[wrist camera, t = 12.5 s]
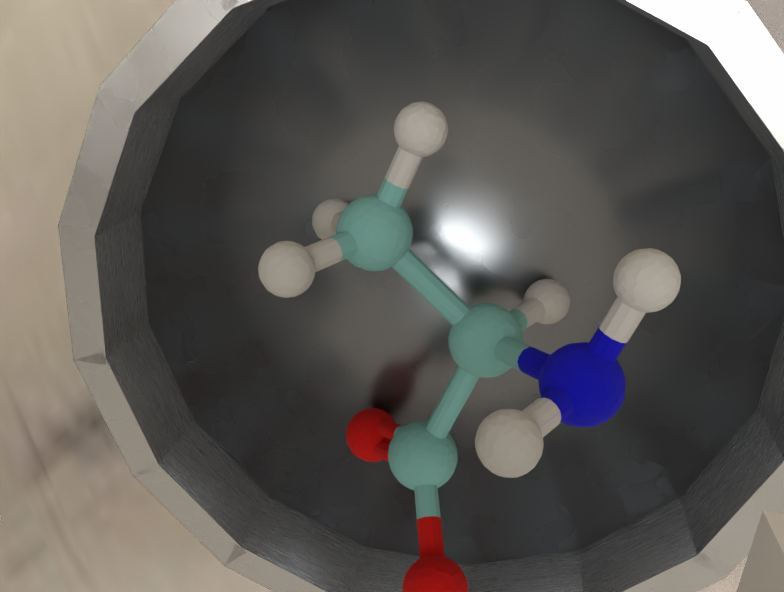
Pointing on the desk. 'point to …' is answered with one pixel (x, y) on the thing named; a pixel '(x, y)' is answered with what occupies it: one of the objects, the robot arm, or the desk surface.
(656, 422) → the shallow grey dish
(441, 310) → the molecular model
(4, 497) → the desk surface
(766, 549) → the robot arm
